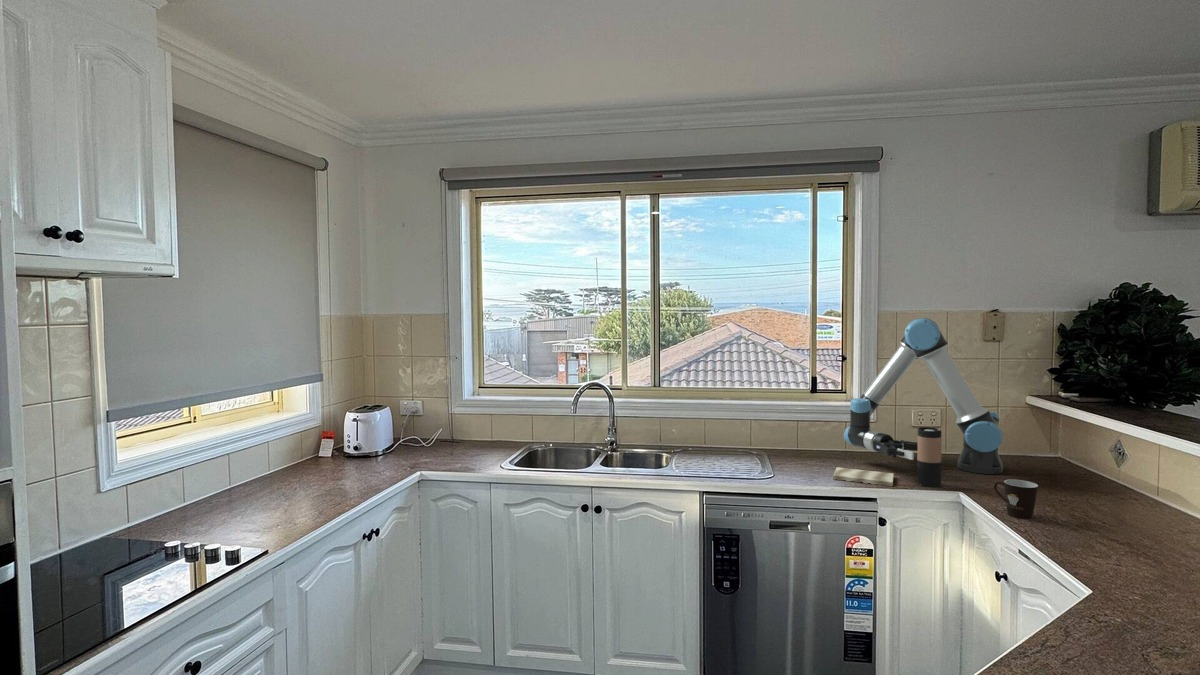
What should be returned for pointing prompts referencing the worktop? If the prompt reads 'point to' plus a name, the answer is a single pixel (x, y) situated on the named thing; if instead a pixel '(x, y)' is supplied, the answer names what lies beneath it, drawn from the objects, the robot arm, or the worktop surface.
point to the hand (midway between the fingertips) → (926, 454)
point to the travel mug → (929, 456)
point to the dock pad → (864, 476)
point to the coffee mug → (1019, 498)
